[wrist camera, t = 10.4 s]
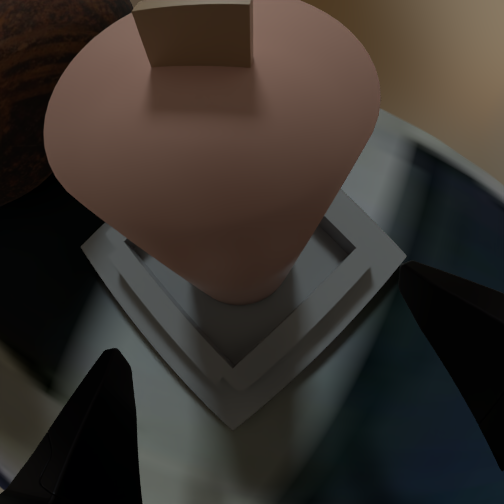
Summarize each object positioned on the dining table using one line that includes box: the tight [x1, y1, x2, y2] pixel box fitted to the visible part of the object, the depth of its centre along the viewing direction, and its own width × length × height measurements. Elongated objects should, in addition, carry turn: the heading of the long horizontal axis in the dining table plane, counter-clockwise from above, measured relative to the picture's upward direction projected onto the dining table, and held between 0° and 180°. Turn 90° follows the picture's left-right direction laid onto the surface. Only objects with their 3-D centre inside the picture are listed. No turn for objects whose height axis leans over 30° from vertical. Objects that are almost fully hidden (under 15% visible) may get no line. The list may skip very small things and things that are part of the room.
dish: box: [81, 189, 407, 431], centre depth 17 cm, size 14×14×3 cm
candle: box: [44, 0, 381, 305], centre depth 10 cm, size 6×6×14 cm
